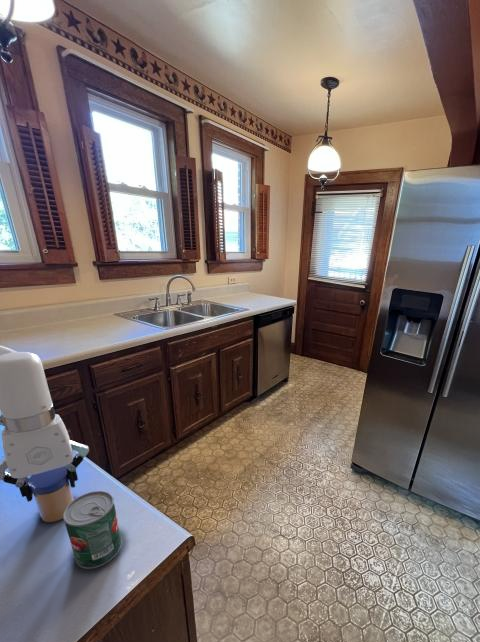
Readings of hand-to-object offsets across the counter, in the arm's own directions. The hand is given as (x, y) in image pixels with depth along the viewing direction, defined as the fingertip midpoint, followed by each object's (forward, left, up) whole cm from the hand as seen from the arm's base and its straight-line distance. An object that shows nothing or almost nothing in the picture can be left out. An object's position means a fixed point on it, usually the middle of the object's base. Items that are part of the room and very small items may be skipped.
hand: (52, 489), depth 66 cm
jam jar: (0, 0, -6) cm, 6 cm away
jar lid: (0, 0, +3) cm, 3 cm away
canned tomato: (+6, -15, -6) cm, 17 cm away
